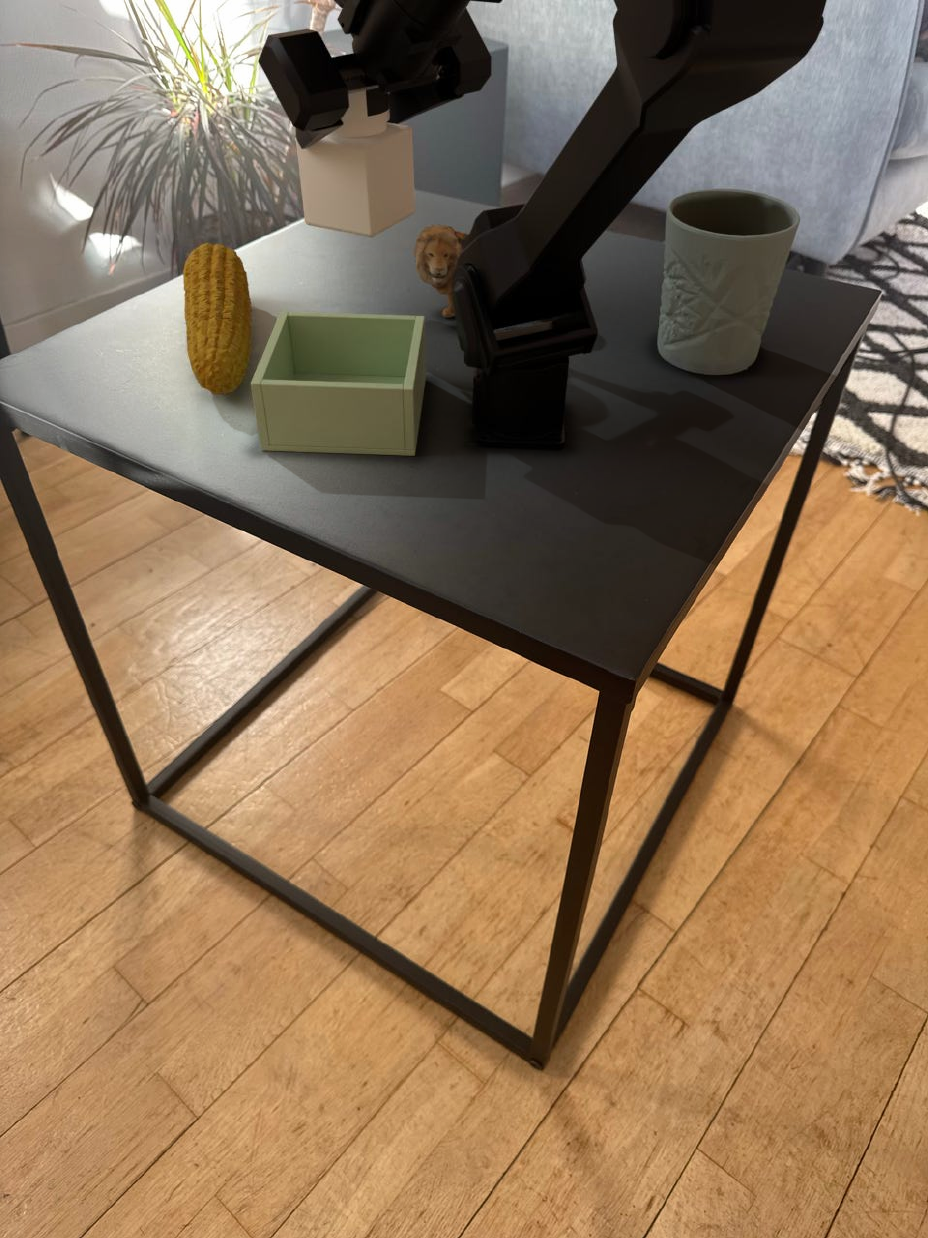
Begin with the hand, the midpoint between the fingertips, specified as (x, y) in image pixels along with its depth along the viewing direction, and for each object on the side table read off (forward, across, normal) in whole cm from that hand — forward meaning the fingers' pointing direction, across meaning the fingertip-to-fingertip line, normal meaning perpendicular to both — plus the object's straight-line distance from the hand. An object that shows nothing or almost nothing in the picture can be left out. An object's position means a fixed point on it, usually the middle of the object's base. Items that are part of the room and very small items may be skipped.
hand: (342, 133), depth 79 cm
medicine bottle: (+4, 0, +6) cm, 7 cm away
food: (+10, +14, +10) cm, 20 cm away
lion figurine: (+3, -7, +18) cm, 20 cm away
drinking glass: (-9, -17, +30) cm, 36 cm away
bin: (0, +13, +21) cm, 25 cm away
